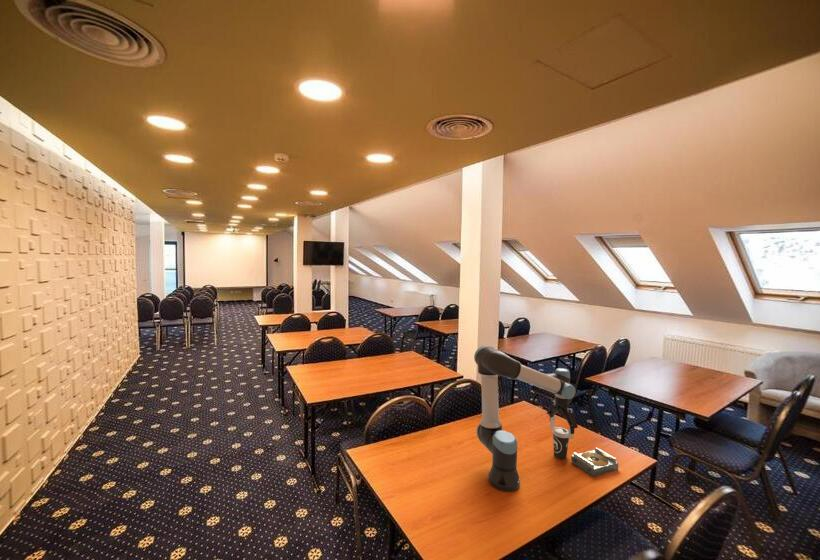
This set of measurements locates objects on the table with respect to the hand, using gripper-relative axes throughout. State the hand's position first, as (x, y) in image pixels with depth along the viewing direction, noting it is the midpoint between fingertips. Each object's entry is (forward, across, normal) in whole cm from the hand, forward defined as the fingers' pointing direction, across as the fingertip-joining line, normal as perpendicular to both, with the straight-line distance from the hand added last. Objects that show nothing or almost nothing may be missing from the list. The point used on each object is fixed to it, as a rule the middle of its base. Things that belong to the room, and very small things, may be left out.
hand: (561, 433), depth 195 cm
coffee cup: (+14, 0, 0) cm, 14 cm away
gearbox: (+13, -14, -10) cm, 22 cm away
